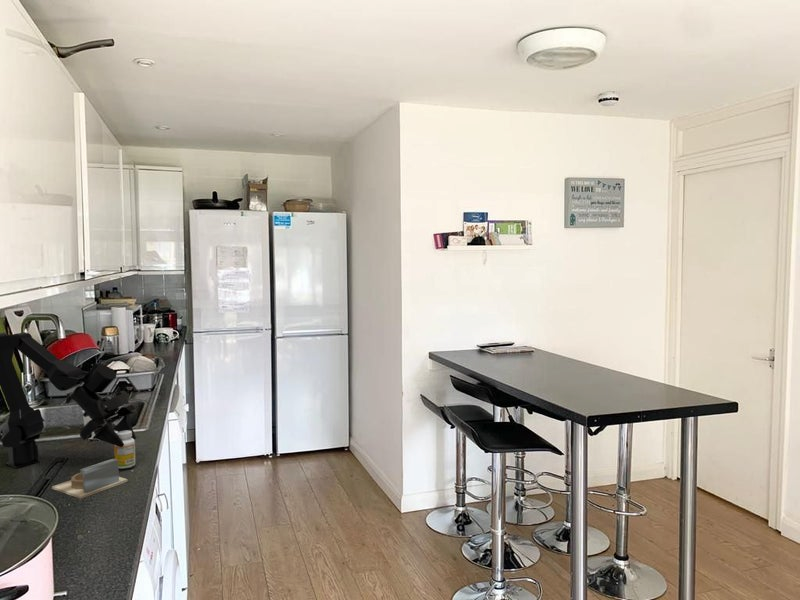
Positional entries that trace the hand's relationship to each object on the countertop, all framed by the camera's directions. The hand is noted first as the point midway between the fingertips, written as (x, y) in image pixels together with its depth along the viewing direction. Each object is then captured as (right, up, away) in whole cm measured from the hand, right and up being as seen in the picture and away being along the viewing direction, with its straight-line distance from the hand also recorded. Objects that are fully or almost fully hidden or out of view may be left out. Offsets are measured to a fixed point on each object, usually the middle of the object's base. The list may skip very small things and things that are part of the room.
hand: (128, 442), depth 170 cm
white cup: (-24, -6, +29) cm, 38 cm away
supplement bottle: (-1, -7, +1) cm, 7 cm away
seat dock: (-5, -8, -12) cm, 15 cm away
